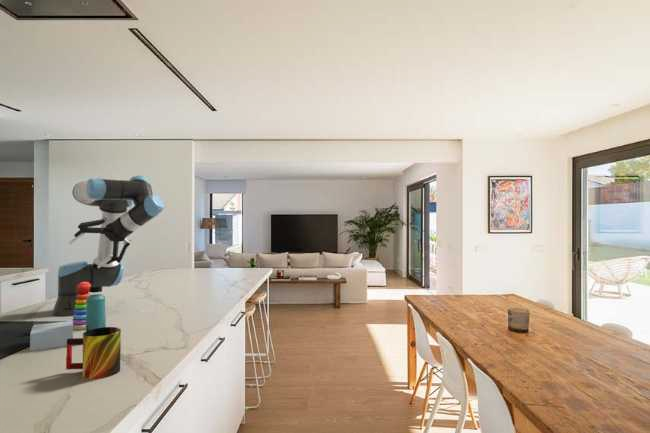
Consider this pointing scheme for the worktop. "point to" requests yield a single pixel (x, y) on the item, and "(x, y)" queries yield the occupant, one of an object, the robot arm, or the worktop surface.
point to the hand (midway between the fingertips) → (85, 254)
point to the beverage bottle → (95, 309)
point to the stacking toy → (81, 306)
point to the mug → (97, 352)
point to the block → (50, 335)
